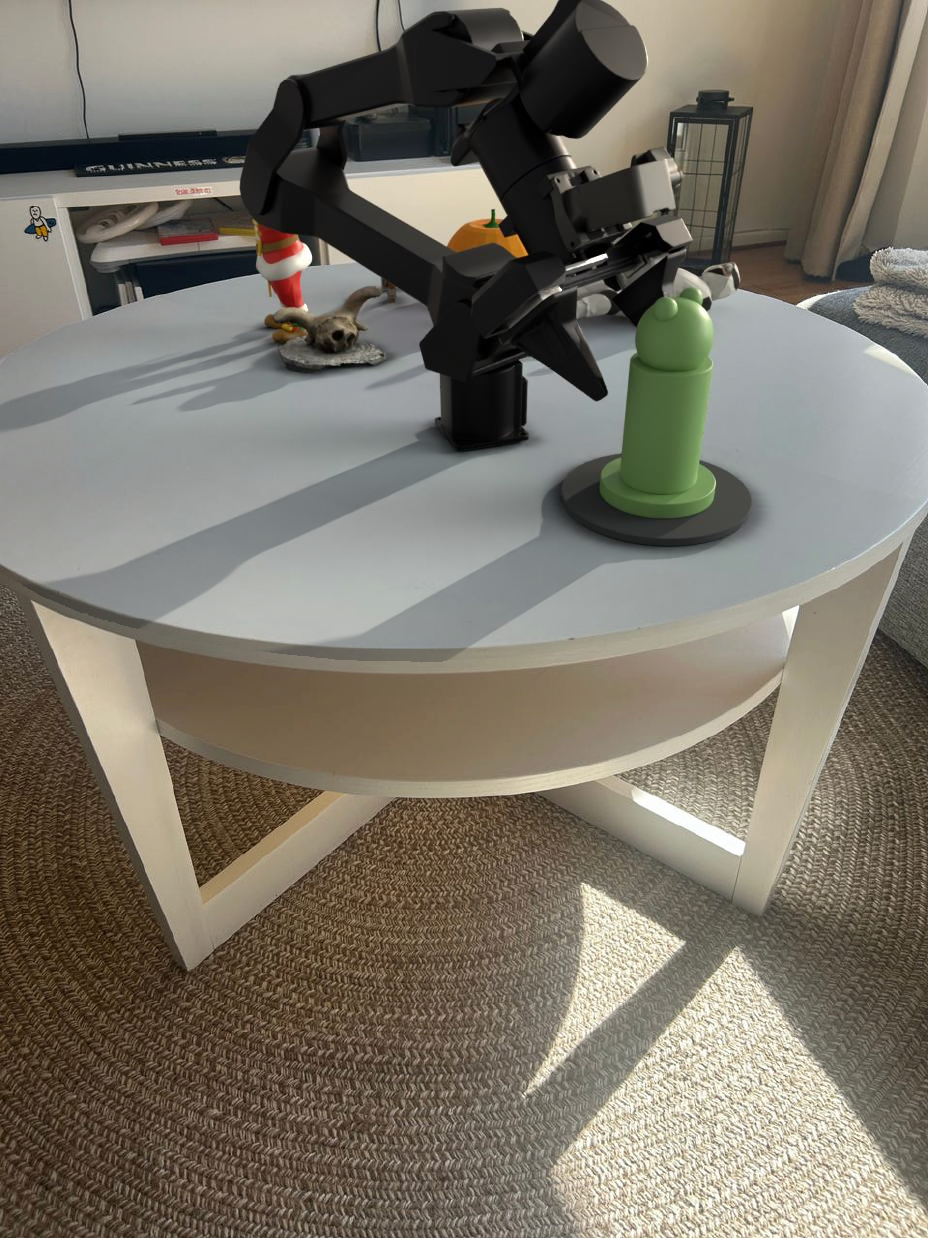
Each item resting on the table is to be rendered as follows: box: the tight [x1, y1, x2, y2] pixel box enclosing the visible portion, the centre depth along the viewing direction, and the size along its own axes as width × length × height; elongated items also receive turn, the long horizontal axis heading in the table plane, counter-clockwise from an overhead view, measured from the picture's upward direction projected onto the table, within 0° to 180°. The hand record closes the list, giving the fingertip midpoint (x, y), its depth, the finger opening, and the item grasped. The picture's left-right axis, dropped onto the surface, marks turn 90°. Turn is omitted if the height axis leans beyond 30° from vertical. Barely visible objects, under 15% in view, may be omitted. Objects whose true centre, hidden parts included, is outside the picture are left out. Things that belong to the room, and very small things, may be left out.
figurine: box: [576, 261, 741, 320], centre depth 104 cm, size 13×6×30 cm
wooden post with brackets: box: [380, 277, 397, 303], centre depth 113 cm, size 2×8×4 cm, turn 8°
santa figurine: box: [252, 218, 313, 344], centre depth 98 cm, size 25×6×19 cm, turn 19°
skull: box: [273, 285, 387, 374], centre depth 96 cm, size 10×12×6 cm
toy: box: [599, 287, 716, 519], centre depth 66 cm, size 8×8×15 cm
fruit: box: [446, 208, 528, 258], centre depth 110 cm, size 12×12×10 cm
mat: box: [560, 452, 753, 547], centre depth 70 cm, size 14×14×1 cm
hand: (641, 380), depth 67 cm, fingers open, 9 cm apart
